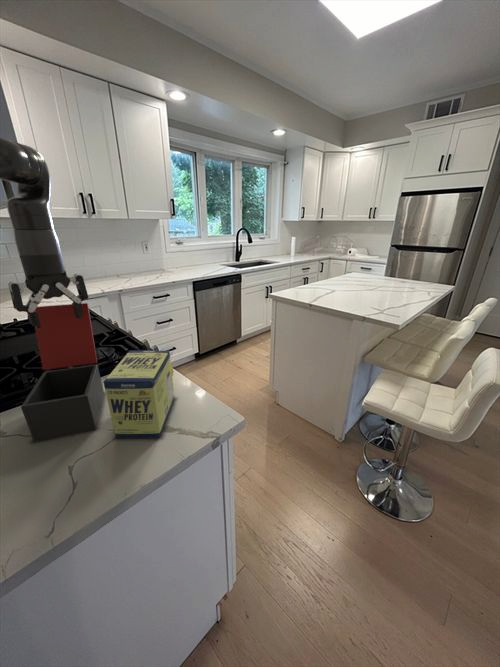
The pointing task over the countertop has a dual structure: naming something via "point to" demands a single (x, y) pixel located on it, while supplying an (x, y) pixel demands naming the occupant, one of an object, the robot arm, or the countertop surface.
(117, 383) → the protein box
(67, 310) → the lid
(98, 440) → the countertop surface
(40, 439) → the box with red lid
